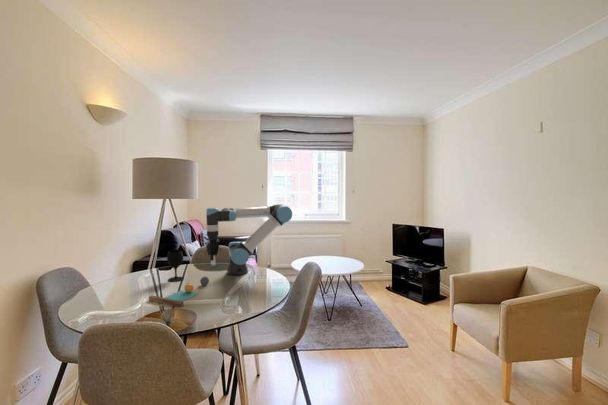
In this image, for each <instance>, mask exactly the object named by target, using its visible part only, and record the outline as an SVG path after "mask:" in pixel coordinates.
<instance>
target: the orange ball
mask: <svg viewBox="0 0 608 405" xmlns="http://www.w3.org/2000/svg"><path fill="white" fill-rule="evenodd" d="M194 288H195V287H194V285H193V284H192V283H186V284H185V285H184V287H183V289H184V290H183V291H186V292H187V293H190V292H192V293H193V291H194Z"/></svg>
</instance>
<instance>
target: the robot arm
mask: <svg viewBox="0 0 608 405" xmlns="http://www.w3.org/2000/svg"><path fill="white" fill-rule="evenodd" d="M266 217H267V218H268V219H267V220H266V221H265V222H264V223H263V224H261V226H260V227H258V228H257V229H256V230H255V231H254V232H253V233H252V234H251V235H250V236H249V237H248V238H247V239H245V240H244V241H231V242H229V243H228V257H229V258H228V265H227V270H226V274H227V275H230V276H242V275H245V274H247V273H249V270H248V266H247V262H248V261H249V260H250V257H251V256H252V255H253V254H254V250H255V249H256V248H257V247H258V246H260V244H262V242H263V241H264V240H265V239H267V238H268V237H269V236H270V234H272V233H273V231H275V230H276V229H277V228H278V227H282V226H283V225H284V224H285V223H288V222H289V221H291V220H292V217H293V211H292V209H291V208H290V207H289V206H288V205H285V204H279V203H277V204H272V205H271V204H270V205H266V206H259V207H257V206H255V207H234V208H232V207H231V208H228V207H224V208H222V209H221V210H219V209H218V207H208V208H207V209H206V230H207V231H206V236H207V241H205V242H204V244H205V246H206V247H205V248H206V252H207V255H208V256H210V265H212V266H216V259H217V255H218V253H219V247H220V242H221V239H219V222H235V221H236V220H237V219H248V218H249V219H250V218H251V219H253V218H266Z"/></svg>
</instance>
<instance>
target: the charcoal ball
mask: <svg viewBox="0 0 608 405" xmlns="http://www.w3.org/2000/svg"><path fill="white" fill-rule="evenodd" d="M199 283H200V284H201V285H202V286H207V285H208V284H209V283H210V278H208V277H207V276H202V277H201V278H200V281H199Z"/></svg>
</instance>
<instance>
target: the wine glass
mask: <svg viewBox="0 0 608 405" xmlns="http://www.w3.org/2000/svg"><path fill="white" fill-rule="evenodd" d="M166 254H167V255H166V262H167V264H168V265H169V266H170V267H172V268H173V269H174V276H172V277H170V278H168V279H167V281H168V282H170V283H176V282H177V283H178V282H181V281H183V280H185V278H184V276H178V274H177V270H178V268H180V266H181V265H182V264H183V261H184V254H183V250H182V249H181V250H180V249H172V250H169V251H168V252H167V253H166Z"/></svg>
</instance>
